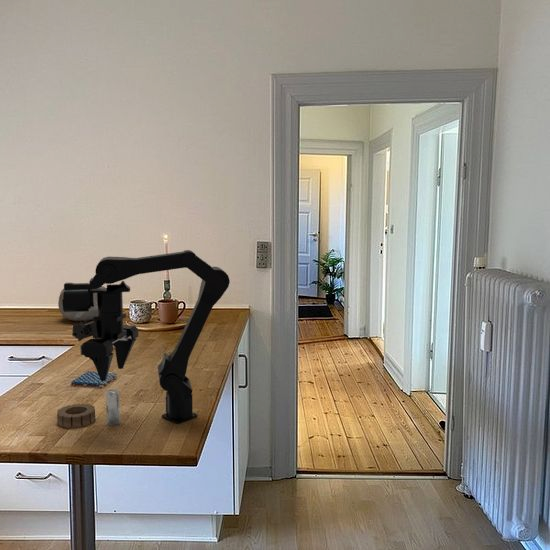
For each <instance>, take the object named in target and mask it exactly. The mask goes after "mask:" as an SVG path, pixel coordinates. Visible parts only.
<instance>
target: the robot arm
mask: <svg viewBox="0 0 550 550" xmlns="http://www.w3.org/2000/svg"><path fill="white" fill-rule="evenodd" d="M177 269H188V270H189V271H190V272H192V273H193V274H194V275H196V276H197V277H199V278H200V279H201V283H200V287H199V291H198V296H197V300H196V302H195V304H194V307H193V309H192V311H191V313H190V315H189V318H188V319H187V320H186V321H187V322H186V324H185V326H184V328H183V330H182V332H181V335H180V337H179V339H178V341H177V343H176V346H175V348H174V349H173V351H171V353H170V354H168V353H166V352H164V353H163V356H162V360H161V361H160V364H158V365H157V371H158V380H159V385H160V387H161V389H162V390H163V391H165V392H166V393H165V394H166V396H165V412H164V413H163V414H161V418H163V419H166V420H168V421H171V422H173V423H175V424H181V423H184V422H187V421H188V420H191V419H194V418H196V417H198V413H196V412H193V389H192V383H191V380H190V378H189V377H187V376H186V374H187V369H188V365H189V360H190V356H191V354H192V353H193V350H194V348H195V346H196V343H197V341H198V339H199V338H200V335H201V333H202V331H203V328H204V326H205V324H206V322H207V321H208V317H209V316H210V314H211V312H212V309H213V307H214V306H215V305H216V304H217V303H218V301H219V300H220V299H221V298H222V296H224V294H225V292H226V291H227V290H228V289H229V286H230V284H231V283H230V281H231V280H230V277H229V275H228V274H227V272H226V271H225V270H223V269H222V268H221V267H219V266H211V265H210V264H208V263H207V262H206V261H205V260H203V259H202V258H200V257H199V256H197V254H196V253H195V252H194V251H192V250H190V249H185V250H183V251H178V252H176V251H175V252H170V253H163V254H162V253H161V254H156V255H150V256H141V257H128V256H106V257H102V258H101V259H100V260H99V262H98V263H97V264H96V267H95V274H94V276H93V277H91V278H90V280H89V282H79V283H78V282H77V283H74V282H65V283H64V284H63V289H64V293H63V299H62V303H63V311H64V312H87V311H90V309H91V307H94V306H95V294H94V293H97V307H98V315H96V316H94V318H93V319H92V321H90V322H87V323H84V322H83V321H80V322H79V323H76V324H73V325H72V334H71V335H72V337H74V338H76V339H77V341H78V342H81V341H82V340H84V339H88V338H90V337H92V338H90V339H88V340H86V341H84V342H83V343H82V344H81V345H80V347H79V350H80V355H82V356H84V357H85V358H88V359H90V360H91V361H92V362H93V364H94V366H95V367H94V368H95V370H96V373H97V372H98V374H99V377H100V379H101V381H106V378H107V375H108V373H109V372H110V371H109V370H110V367H111V364H112V361H113V357H114V353H115V356H116V365H117V368H118V370H119V369H120V370H123V369H124V367H125V364H126V362H127V361H128V358H129V355H130V352H131V351H132V348H133V347H134V344H135V342H136V341H137V338H138V337H139V328H138V327H137V326H136V325H131V324H130V325H129V324H126V325H125V324H124V319H126V318H127V313H126V312H124V308H123V307H124V305H123V303H124V302H123V293H129V292H131V287H130V286H129V285H127V284H126V281H125V280H126V279H129V278H132V277H134V276H138V275H144V274H149V273H156V272H164V271H165V272H166V271H170V270H177ZM120 281H121V282H120ZM118 282H119V283H118ZM115 283H118V284H115ZM105 284H106V287H105V288H101V289H98V288H99V287H101V286H104V285H105ZM95 338H100V339H95ZM113 350H115V352H113Z"/></svg>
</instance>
